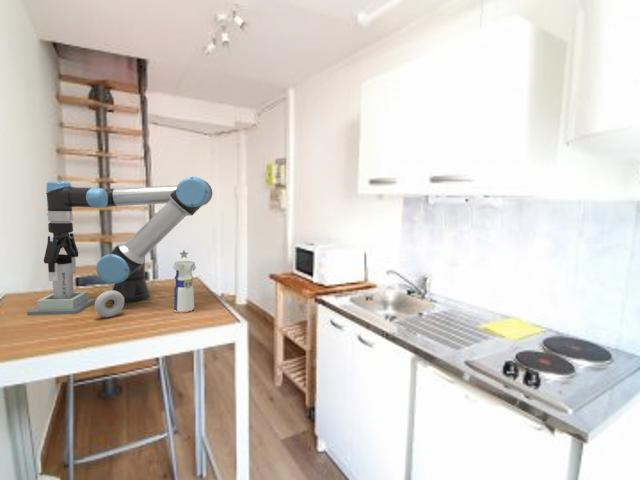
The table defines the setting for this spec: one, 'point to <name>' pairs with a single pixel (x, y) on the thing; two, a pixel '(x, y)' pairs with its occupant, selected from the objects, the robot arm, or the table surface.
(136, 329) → the table surface
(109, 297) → the donut
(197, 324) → the table surface
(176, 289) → the water bottle
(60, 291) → the travel mug
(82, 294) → the dock
